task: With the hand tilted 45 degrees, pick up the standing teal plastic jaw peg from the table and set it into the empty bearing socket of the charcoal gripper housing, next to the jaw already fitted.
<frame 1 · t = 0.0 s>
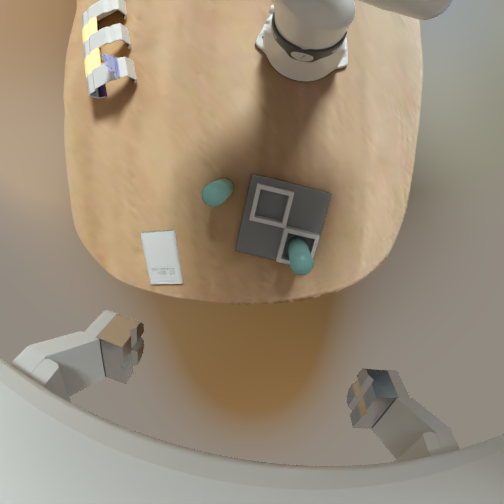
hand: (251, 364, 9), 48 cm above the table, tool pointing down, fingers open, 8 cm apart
jaw peg: (223, 188, 55), on the table
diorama: (115, 48, 45), on the table
housing: (282, 221, 56), on the table
external hard drive: (163, 256, 62), on the table
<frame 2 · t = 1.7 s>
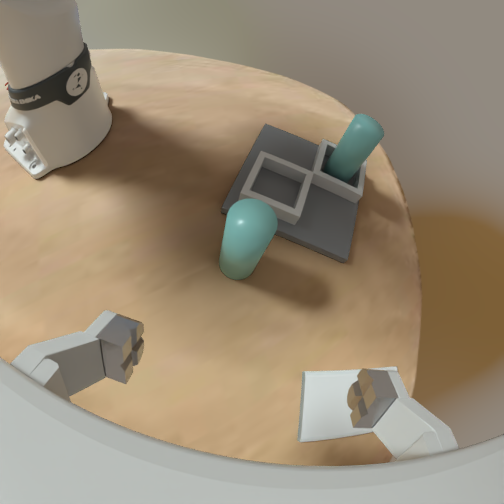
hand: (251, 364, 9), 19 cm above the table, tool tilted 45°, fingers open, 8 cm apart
jaw peg: (237, 262, 31), on the table
housing: (300, 187, 36), on the table
external hard drive: (347, 402, 28), on the table
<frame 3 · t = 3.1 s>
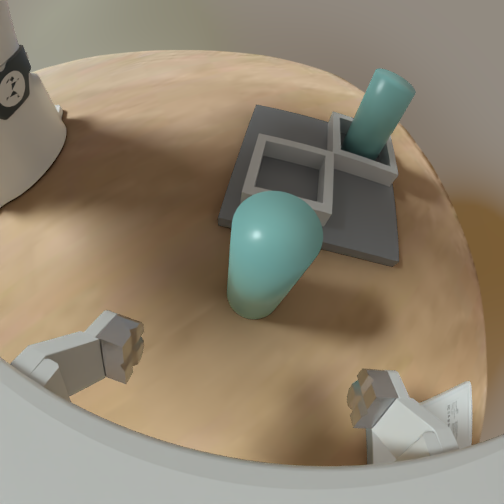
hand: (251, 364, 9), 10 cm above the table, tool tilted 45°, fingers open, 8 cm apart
jaw peg: (253, 293, 21), on the table
housing: (318, 176, 26), on the table
external hard drive: (419, 439, 17), on the table
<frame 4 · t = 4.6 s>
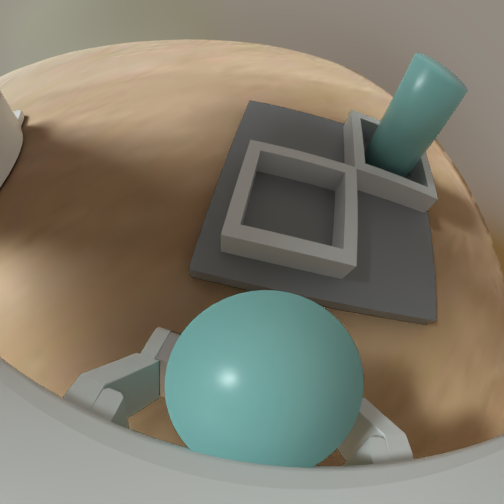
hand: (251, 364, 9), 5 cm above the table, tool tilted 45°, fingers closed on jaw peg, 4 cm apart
jaw peg: (239, 378, 14), on the table, touching gripper
housing: (332, 198, 19), on the table
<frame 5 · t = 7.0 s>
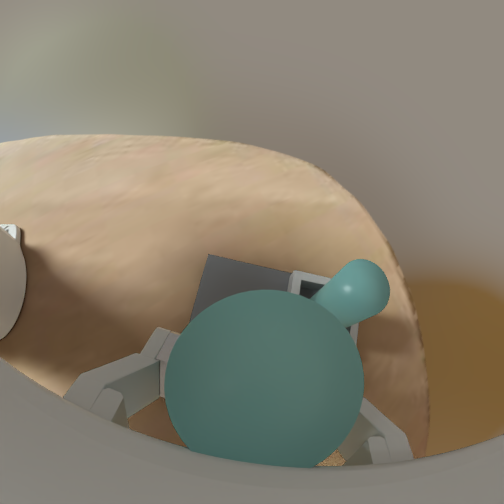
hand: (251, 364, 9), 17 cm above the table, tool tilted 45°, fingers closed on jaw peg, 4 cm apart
jaw peg: (239, 377, 14), point 12 cm above the table, touching gripper
housing: (269, 351, 26), on the table
when the fingers open (8 cm above the table, at t = 9.4 s): jaw peg drops 1 cm, resting on housing.
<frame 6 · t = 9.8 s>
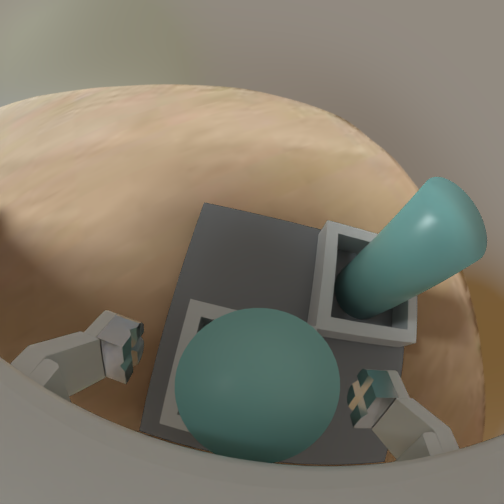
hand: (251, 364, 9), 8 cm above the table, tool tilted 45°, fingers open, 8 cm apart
jaw peg: (239, 377, 15), point 1 cm above the table, touching housing
housing: (292, 341, 17), on the table
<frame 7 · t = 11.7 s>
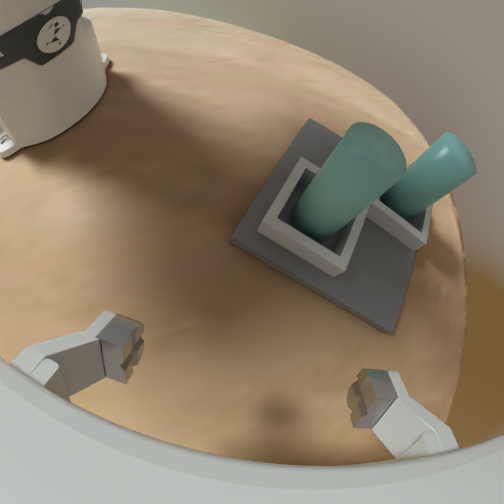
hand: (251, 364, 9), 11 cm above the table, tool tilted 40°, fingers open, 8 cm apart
jaw peg: (313, 219, 23), point 1 cm above the table, touching housing
housing: (347, 217, 25), on the table
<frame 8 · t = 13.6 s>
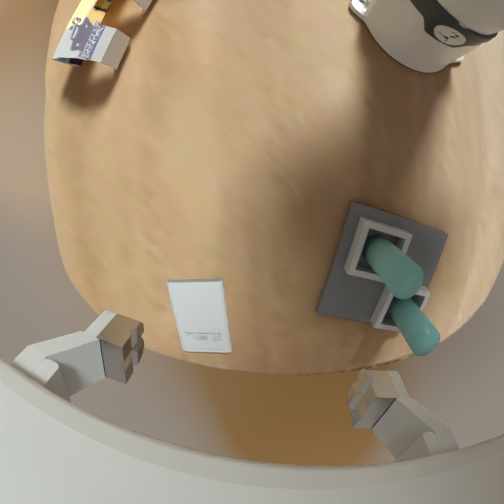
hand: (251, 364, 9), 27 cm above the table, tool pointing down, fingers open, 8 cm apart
jaw peg: (376, 249, 34), point 1 cm above the table, touching housing
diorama: (131, 2, 25), on the table
housing: (383, 270, 36), on the table
external hard drive: (202, 314, 41), on the table
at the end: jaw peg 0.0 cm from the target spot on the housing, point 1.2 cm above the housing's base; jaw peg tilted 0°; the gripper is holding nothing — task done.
